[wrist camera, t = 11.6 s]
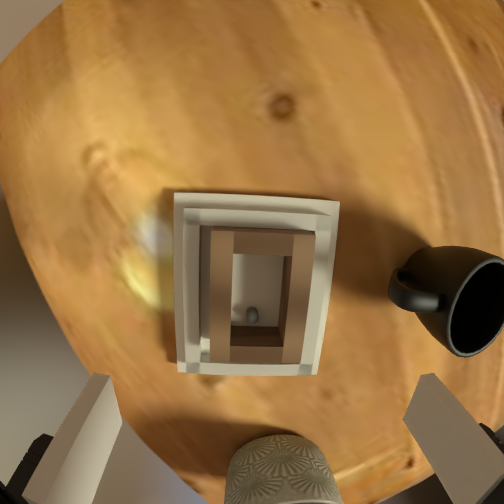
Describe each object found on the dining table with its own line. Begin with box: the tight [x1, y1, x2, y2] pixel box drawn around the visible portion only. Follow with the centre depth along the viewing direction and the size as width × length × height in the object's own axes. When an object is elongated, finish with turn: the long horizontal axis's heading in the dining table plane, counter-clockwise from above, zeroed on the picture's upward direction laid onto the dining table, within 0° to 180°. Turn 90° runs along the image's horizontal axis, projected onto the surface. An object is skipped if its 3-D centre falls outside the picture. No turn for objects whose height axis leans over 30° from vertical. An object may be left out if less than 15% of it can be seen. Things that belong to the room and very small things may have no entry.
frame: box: [210, 226, 316, 363], centre depth 23 cm, size 10×7×4 cm
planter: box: [224, 434, 344, 504], centre depth 26 cm, size 12×12×11 cm
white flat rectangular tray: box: [173, 192, 340, 376], centre depth 25 cm, size 16×13×3 cm
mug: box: [388, 246, 504, 358], centre depth 22 cm, size 8×12×10 cm
